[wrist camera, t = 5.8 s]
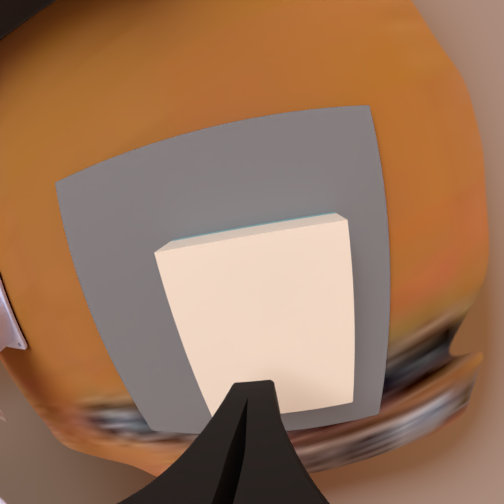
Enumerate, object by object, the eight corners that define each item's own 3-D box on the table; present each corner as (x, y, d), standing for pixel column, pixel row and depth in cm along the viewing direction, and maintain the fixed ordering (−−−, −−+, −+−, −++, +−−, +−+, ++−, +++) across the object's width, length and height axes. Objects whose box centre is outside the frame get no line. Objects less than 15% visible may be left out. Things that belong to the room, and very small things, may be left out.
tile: (212, 417, 14) (352, 402, 13) (154, 252, 11) (347, 220, 10) (218, 390, 16) (344, 375, 15) (173, 239, 13) (334, 212, 13)
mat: (153, 426, 18) (151, 429, 18) (59, 182, 13) (55, 182, 13) (377, 410, 16) (378, 414, 16) (366, 107, 11) (369, 105, 11)
